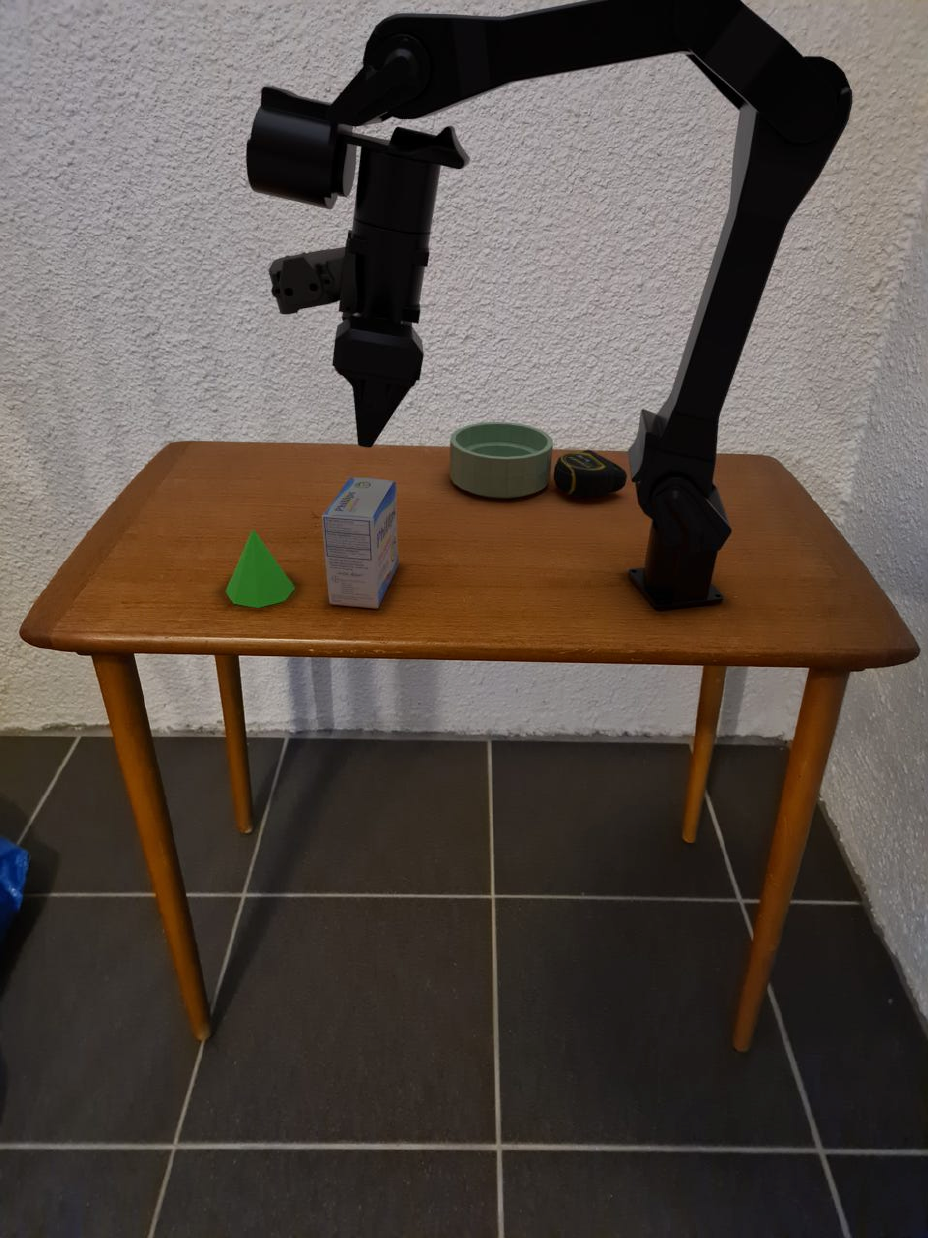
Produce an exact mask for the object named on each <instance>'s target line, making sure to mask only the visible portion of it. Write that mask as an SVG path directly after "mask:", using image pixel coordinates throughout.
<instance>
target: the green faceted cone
mask: <svg viewBox="0 0 928 1238" xmlns="http://www.w3.org/2000/svg"><path fill="white" fill-rule="evenodd" d="M295 590H296V586H295V585H294V584H293V582H292V581H291V580H290V578H289V577H288V576H287V574H286V573H285V571H284V570H283V568H282V567H281V566H280V564H279V563H278V562H277V560H276V558H275V557H274V556H273V555H272V553H271V552H270V550H269V548H268V547H267V546H266V545H265V543H264V542H263V540H262V539H261V537H260V536H259V534H258V533H257V532H256V530H254V528H252V529H251V531H250V534H249V536H248V538H247V541H246V542H245V545H244V547H243V550H242V552H241V554H240V557H239V559H238V562H237V564H236V565H235V568H234V571H233V573H232V575H231V578H230V580H229V582H228V585H227V587H226V589H225V593H226V595H227V596H228V598H229V599H230V601H231V602H232V604H233V605H238V606H245V607H250V608H257V609H260V608H263V607H268V606H271V605H275V604H280V603H283V602H285V601H286V600H287V599H288V598H289V596H290V595H291V594H292V593H293V592H294V591H295Z"/></svg>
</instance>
